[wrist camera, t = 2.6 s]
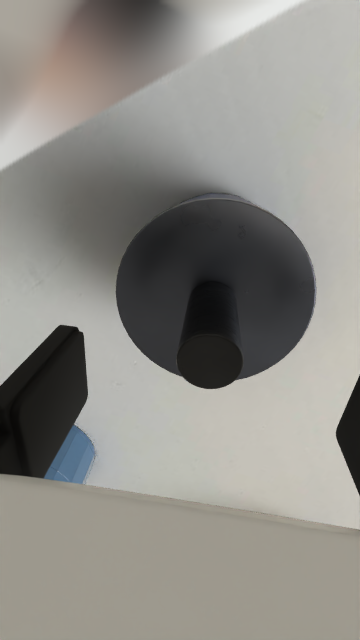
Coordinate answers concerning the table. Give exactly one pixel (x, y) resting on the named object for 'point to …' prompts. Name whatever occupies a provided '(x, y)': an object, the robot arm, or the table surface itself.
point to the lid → (215, 290)
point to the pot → (73, 459)
